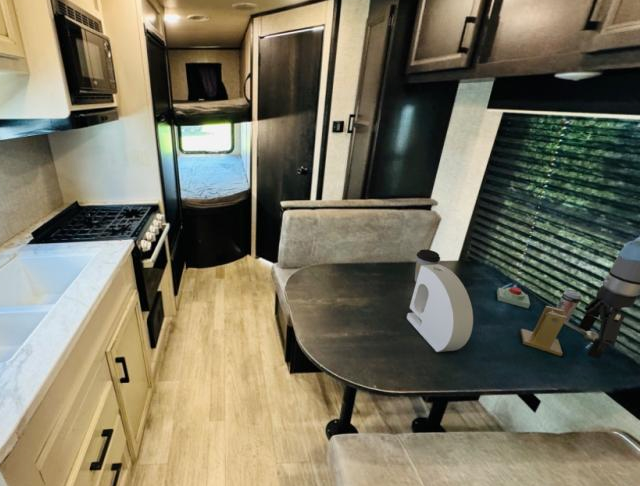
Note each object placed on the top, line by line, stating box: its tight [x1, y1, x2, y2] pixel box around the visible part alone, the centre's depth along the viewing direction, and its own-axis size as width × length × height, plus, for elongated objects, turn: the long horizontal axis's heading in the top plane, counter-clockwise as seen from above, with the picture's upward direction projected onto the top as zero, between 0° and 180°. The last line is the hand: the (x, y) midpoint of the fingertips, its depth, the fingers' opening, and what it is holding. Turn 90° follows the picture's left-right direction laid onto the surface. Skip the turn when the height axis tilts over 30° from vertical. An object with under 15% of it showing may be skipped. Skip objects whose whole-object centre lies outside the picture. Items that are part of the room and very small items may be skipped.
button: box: [510, 286, 523, 295], centre depth 132 cm, size 4×4×2 cm
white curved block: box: [406, 263, 474, 353], centre depth 109 cm, size 7×21×25 cm, turn 6°
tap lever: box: [546, 310, 599, 343], centre depth 104 cm, size 14×4×4 cm, turn 56°
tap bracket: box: [520, 305, 566, 357], centre depth 108 cm, size 10×8×14 cm
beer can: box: [555, 289, 582, 322], centre depth 120 cm, size 5×5×12 cm
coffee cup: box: [414, 248, 441, 283], centre depth 144 cm, size 9×9×15 cm
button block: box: [496, 287, 531, 309], centre depth 133 cm, size 10×8×4 cm
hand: (586, 343), depth 103 cm, fingers open, 13 cm apart
